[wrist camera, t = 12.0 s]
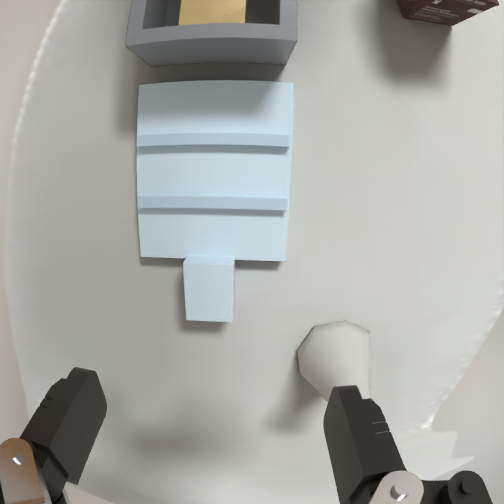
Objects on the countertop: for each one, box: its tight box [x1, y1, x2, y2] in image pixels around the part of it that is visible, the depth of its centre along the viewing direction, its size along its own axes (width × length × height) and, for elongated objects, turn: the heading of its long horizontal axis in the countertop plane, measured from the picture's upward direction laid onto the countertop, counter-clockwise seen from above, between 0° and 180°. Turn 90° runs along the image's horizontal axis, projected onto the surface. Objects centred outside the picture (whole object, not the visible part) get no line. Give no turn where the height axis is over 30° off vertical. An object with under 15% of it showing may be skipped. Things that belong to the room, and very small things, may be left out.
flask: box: [297, 320, 373, 402], centre depth 23 cm, size 7×7×10 cm
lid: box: [136, 80, 294, 322], centre depth 21 cm, size 17×11×3 cm, turn 178°
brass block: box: [179, 0, 247, 25], centre depth 16 cm, size 4×4×4 cm
